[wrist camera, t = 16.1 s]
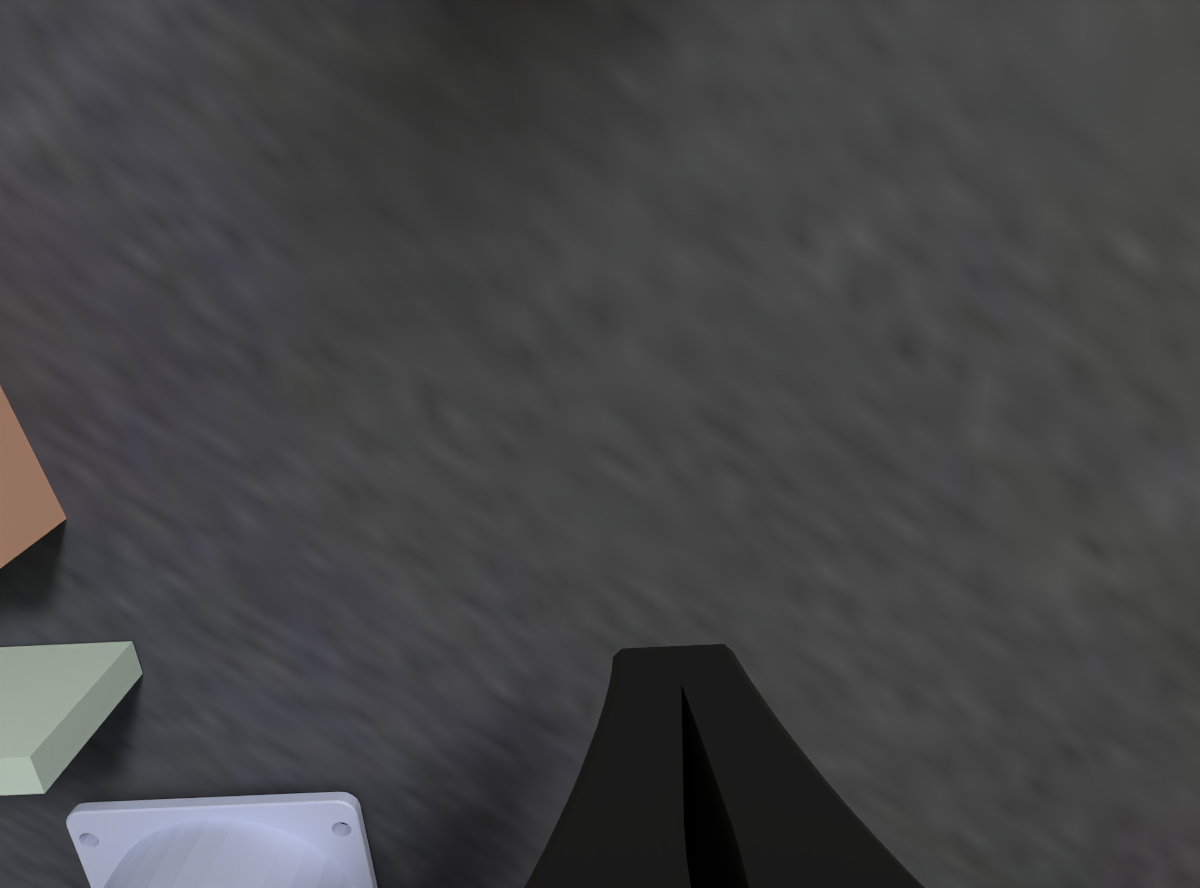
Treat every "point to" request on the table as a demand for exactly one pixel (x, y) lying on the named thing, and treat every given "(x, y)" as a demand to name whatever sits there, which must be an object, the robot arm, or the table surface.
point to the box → (56, 706)
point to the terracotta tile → (22, 490)
